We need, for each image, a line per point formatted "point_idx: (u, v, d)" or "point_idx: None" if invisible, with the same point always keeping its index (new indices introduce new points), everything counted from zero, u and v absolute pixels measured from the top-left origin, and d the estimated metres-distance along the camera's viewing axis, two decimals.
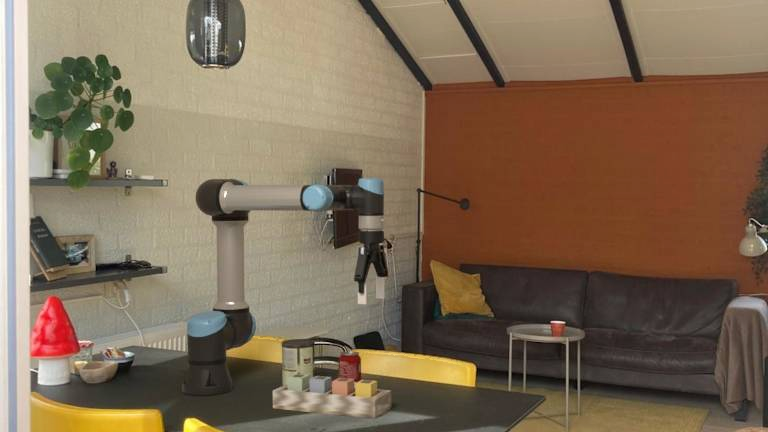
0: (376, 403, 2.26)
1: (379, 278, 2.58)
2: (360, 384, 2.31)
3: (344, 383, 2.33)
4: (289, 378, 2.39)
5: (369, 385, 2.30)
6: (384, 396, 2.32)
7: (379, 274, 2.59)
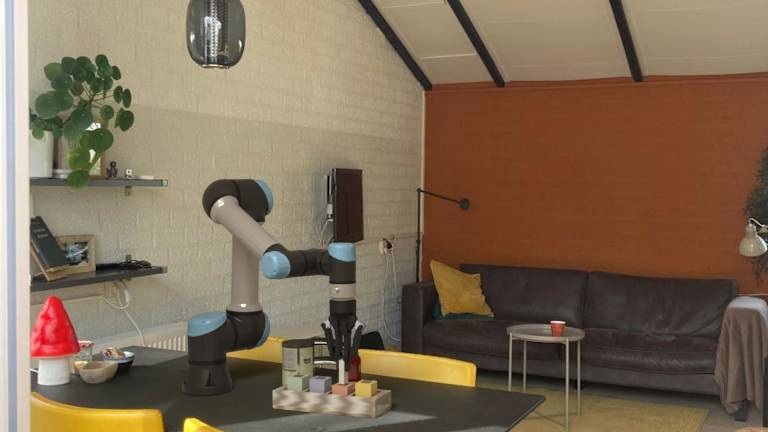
0: (376, 403, 2.26)
1: None
2: (360, 384, 2.31)
3: (344, 387, 2.33)
4: (289, 378, 2.39)
5: (369, 385, 2.30)
6: (384, 396, 2.32)
7: None
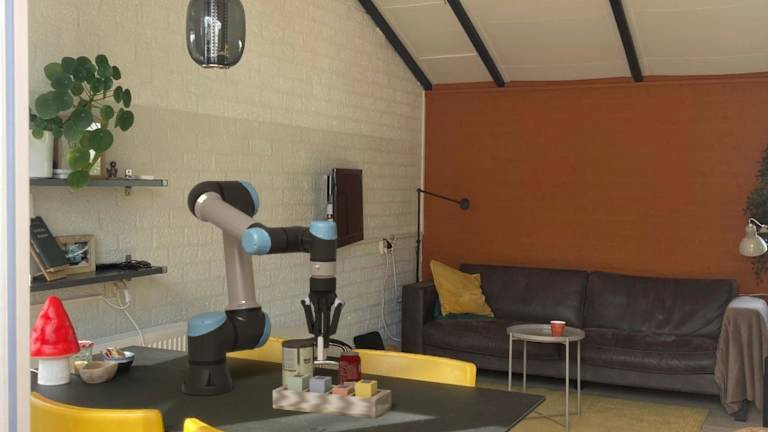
0: (376, 403, 2.26)
1: None
2: (360, 384, 2.31)
3: (344, 390, 2.33)
4: (289, 378, 2.39)
5: (369, 385, 2.30)
6: (384, 396, 2.32)
7: None
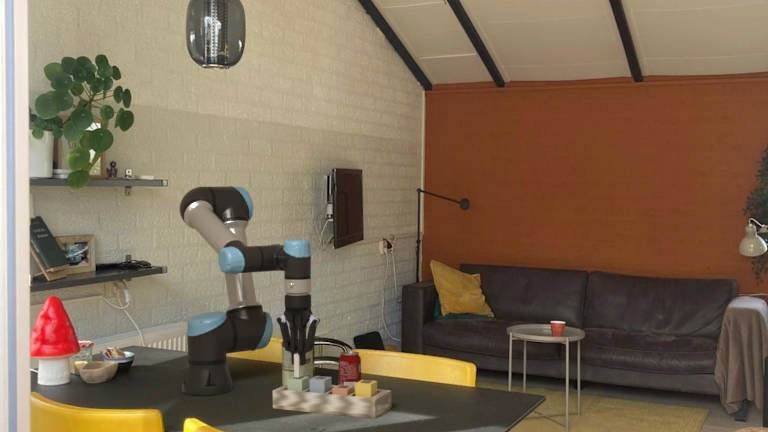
0: (376, 403, 2.26)
1: None
2: (360, 384, 2.31)
3: (344, 390, 2.33)
4: (289, 380, 2.39)
5: (369, 385, 2.30)
6: (384, 396, 2.32)
7: None
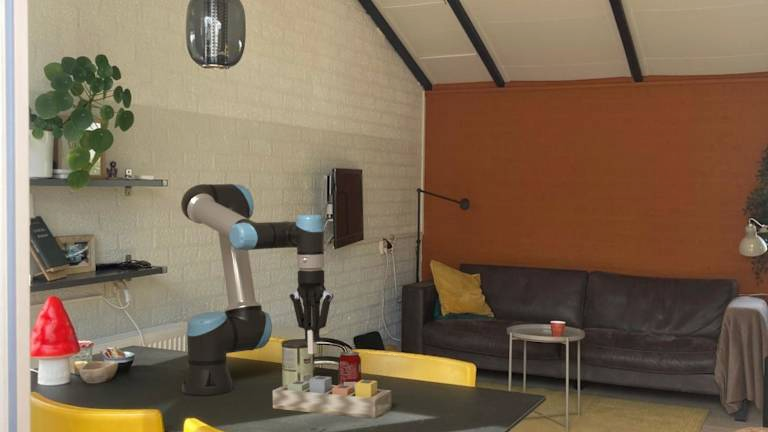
0: (376, 403, 2.26)
1: None
2: (360, 384, 2.31)
3: (344, 390, 2.33)
4: (289, 385, 2.39)
5: (369, 385, 2.30)
6: (384, 396, 2.32)
7: None
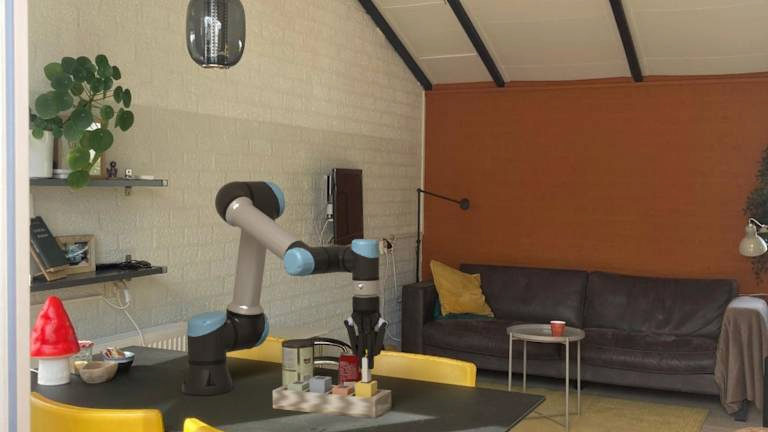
0: (376, 403, 2.26)
1: None
2: (360, 384, 2.31)
3: (344, 390, 2.33)
4: (289, 385, 2.39)
5: (369, 385, 2.30)
6: (384, 396, 2.32)
7: None
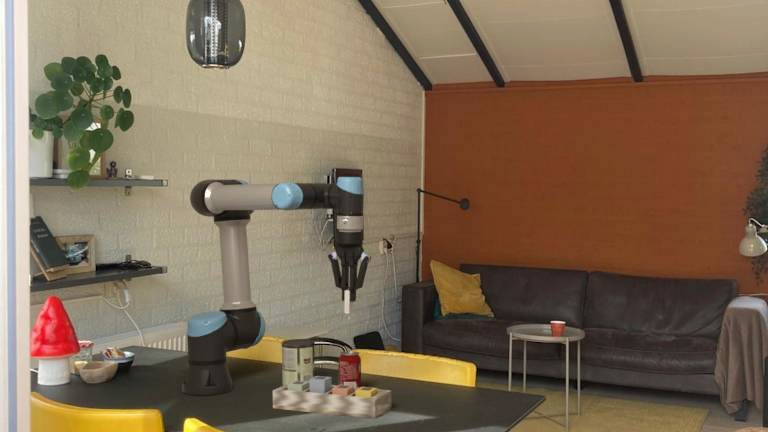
0: (376, 403, 2.26)
1: None
2: (360, 391, 2.31)
3: (344, 390, 2.33)
4: (289, 385, 2.39)
5: (369, 392, 2.30)
6: (384, 396, 2.32)
7: None
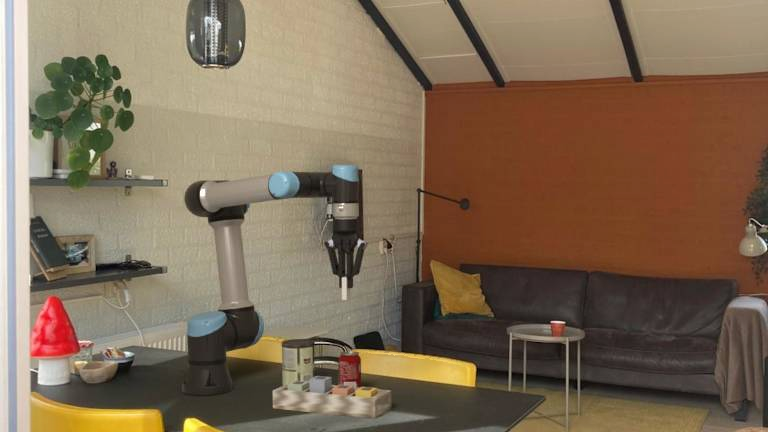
0: (376, 403, 2.26)
1: None
2: (360, 391, 2.31)
3: (344, 390, 2.33)
4: (289, 385, 2.39)
5: (369, 392, 2.30)
6: (384, 396, 2.32)
7: None
